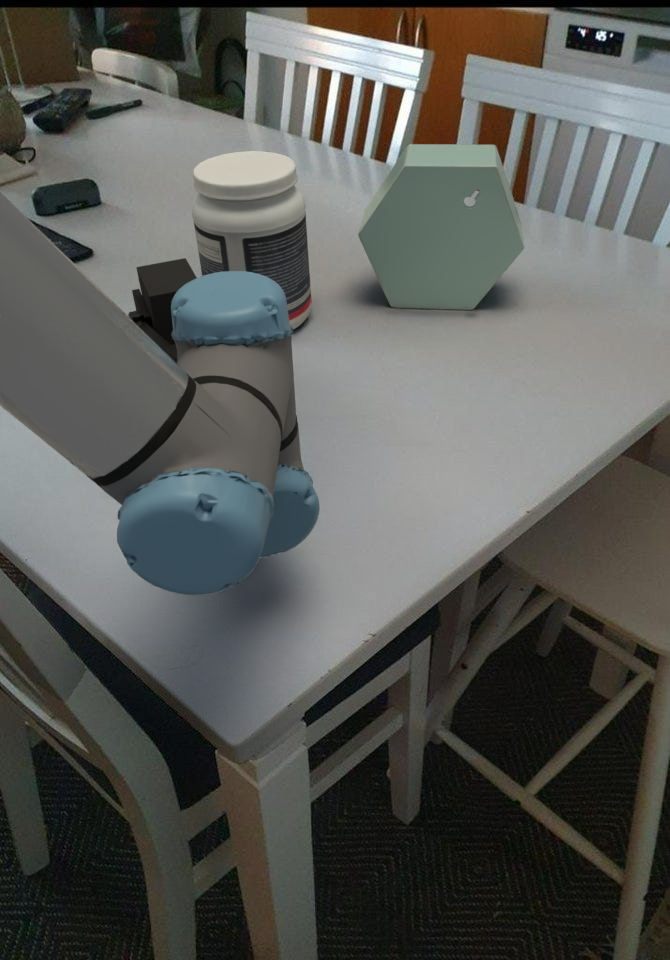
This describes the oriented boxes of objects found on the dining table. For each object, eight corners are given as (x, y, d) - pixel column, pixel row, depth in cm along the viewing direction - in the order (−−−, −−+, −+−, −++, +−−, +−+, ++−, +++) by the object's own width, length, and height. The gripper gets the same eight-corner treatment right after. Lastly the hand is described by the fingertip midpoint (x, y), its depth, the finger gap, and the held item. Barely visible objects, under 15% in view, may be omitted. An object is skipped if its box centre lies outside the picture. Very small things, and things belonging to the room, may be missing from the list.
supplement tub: (318, 295, 104) (311, 147, 93) (304, 345, 94) (294, 188, 83) (221, 293, 106) (201, 147, 94) (197, 342, 96) (171, 187, 84)
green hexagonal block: (447, 313, 109) (551, 185, 97) (446, 342, 103) (557, 209, 91) (341, 245, 105) (436, 102, 92) (333, 270, 99) (433, 121, 86)
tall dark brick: (168, 395, 82) (149, 296, 75) (155, 362, 87) (136, 266, 80) (216, 384, 83) (201, 286, 76) (201, 353, 88) (185, 257, 81)
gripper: (121, 473, 68) (86, 345, 85) (323, 423, 73) (251, 311, 90) (102, 398, 63) (68, 278, 80) (319, 350, 68) (244, 246, 85)
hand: (165, 296), depth 85 cm, fingers closed on tall dark brick, 5 cm apart
